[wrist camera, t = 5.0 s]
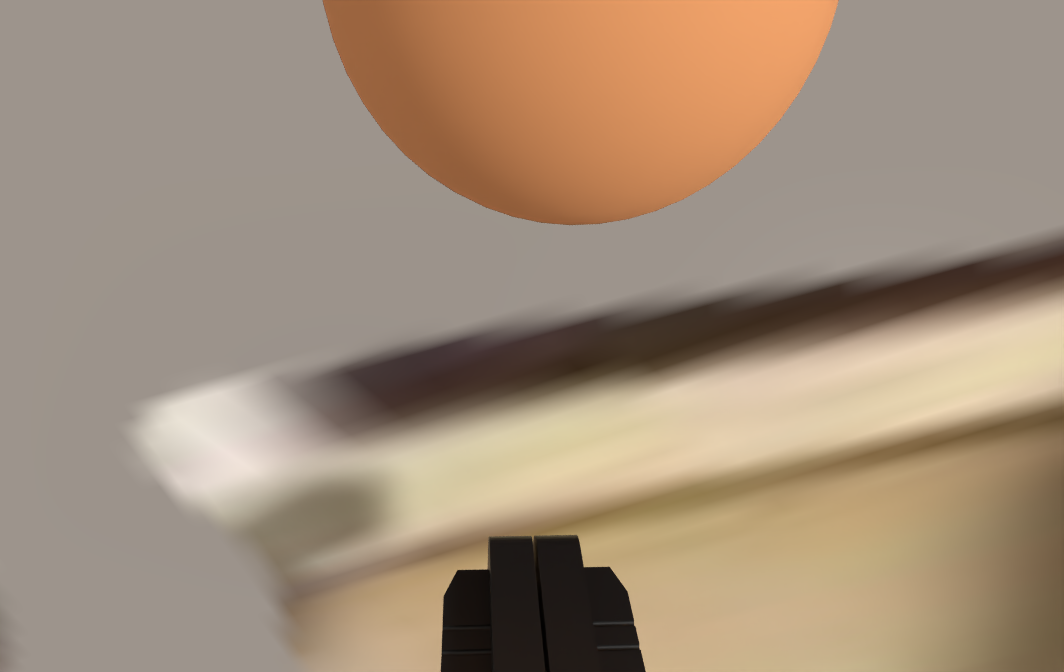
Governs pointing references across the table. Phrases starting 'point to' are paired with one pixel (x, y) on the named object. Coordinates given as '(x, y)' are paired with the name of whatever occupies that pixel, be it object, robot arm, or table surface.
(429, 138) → the ball
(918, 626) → the table surface
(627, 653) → the robot arm
